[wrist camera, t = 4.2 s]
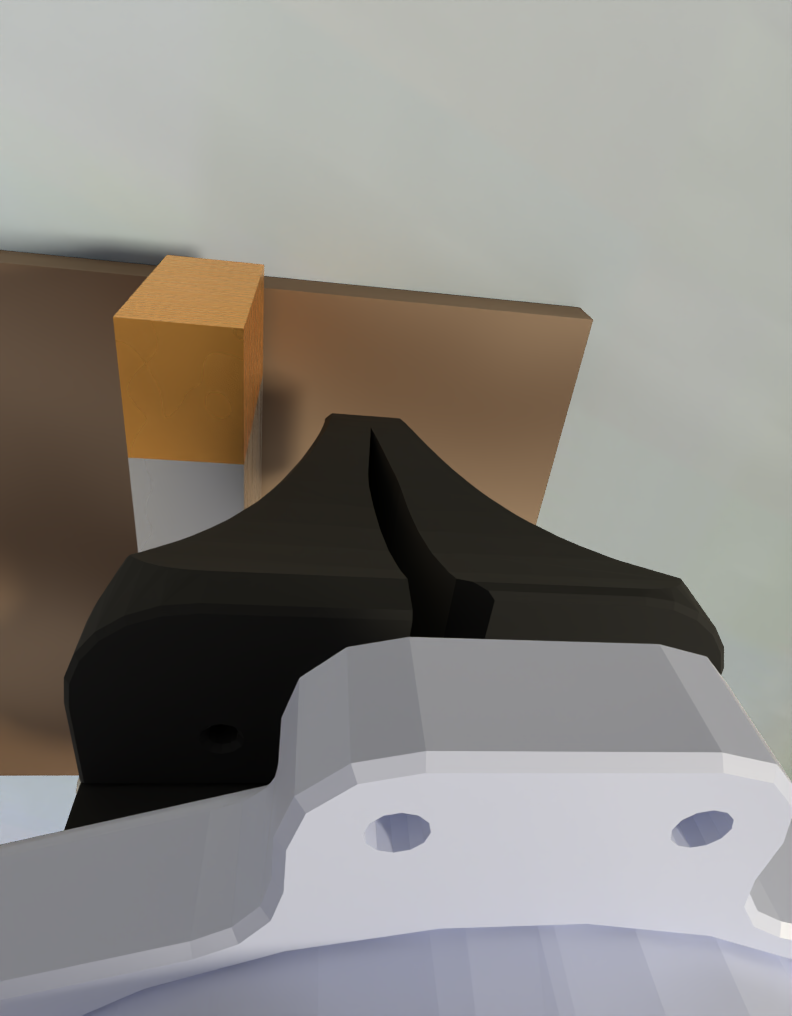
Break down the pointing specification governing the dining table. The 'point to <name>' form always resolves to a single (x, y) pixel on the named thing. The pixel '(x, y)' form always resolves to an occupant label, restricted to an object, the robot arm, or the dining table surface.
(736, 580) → the dining table surface
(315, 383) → the brown flat board
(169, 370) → the orange and grey bar
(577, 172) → the dining table surface
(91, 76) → the dining table surface
